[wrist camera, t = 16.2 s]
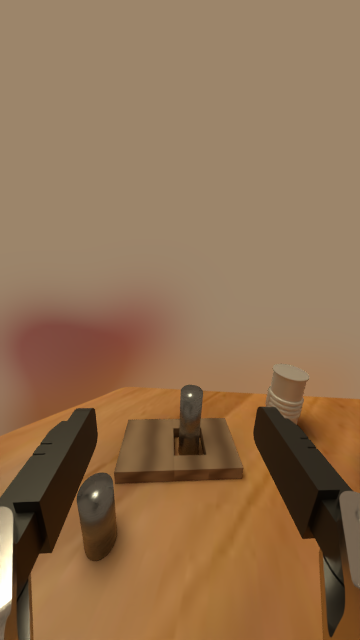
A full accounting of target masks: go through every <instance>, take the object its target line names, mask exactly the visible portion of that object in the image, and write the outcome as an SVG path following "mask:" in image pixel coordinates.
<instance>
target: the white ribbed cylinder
mask: <svg viewBox="0 0 360 640" xmlns="http://www.w3.org/2000/svg"><path fill="white" fill-rule="evenodd" d="M273 371H274V372H273V377H272V383H271V386H270V387H269V389H268V393H267V398H266V407H276V408H277V409H278V410H279V412H280V413H281V414H282V415H283V417H284V418H288V419H290V420H291V421H292V422H294V423H295V424H296V425H297V419H298V418H299V417H300V412H301V408H302V404H303V401H304V399H303V393H304V389H305V385H306V382H307V381H308V380H309V375H308V374H307V373H306V372H305V371H303V370H302V369H300V368H297V367H295V366H292V365H287V364H276V365H274V366H273Z"/></svg>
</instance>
